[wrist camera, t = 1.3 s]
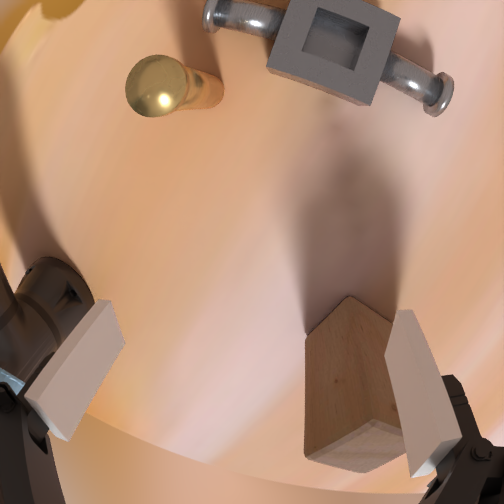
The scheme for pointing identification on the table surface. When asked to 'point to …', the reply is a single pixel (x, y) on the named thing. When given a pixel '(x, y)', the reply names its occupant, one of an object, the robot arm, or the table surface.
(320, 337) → the wooden block
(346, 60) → the valve body
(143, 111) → the valve handle
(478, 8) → the table surface
